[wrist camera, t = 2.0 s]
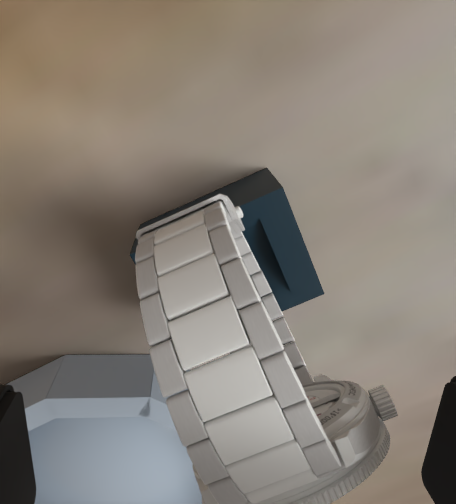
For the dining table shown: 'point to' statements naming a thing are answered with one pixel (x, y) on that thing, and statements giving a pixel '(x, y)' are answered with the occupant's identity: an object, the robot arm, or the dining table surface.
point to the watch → (249, 353)
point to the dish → (104, 433)
